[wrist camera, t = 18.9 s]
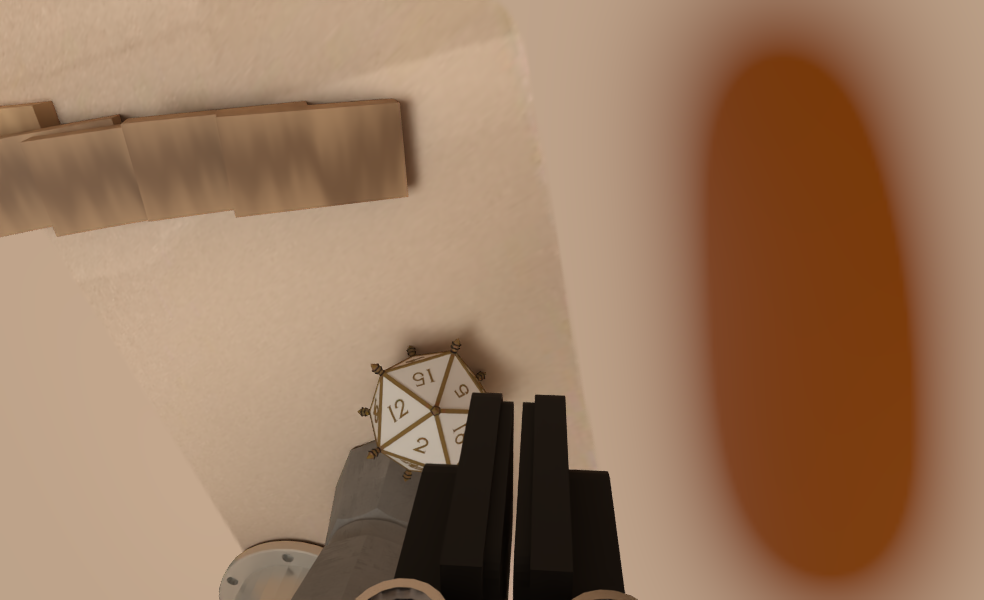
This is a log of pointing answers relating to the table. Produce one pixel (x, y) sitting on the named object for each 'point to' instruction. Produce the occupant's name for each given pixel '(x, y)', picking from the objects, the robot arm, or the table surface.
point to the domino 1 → (27, 117)
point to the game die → (422, 409)
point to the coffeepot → (362, 528)
